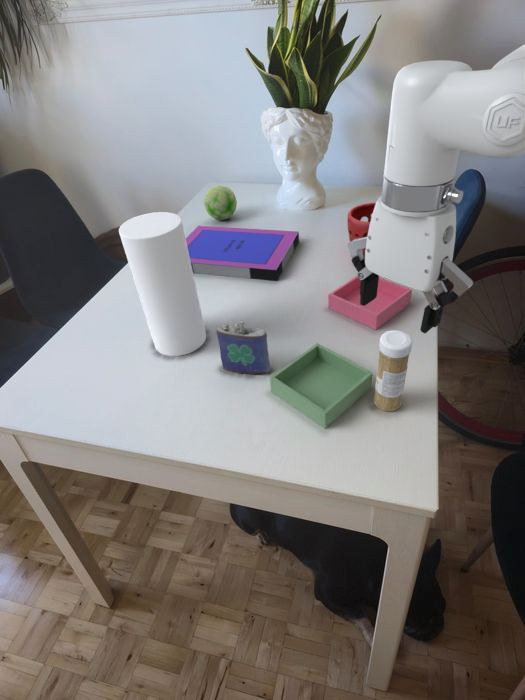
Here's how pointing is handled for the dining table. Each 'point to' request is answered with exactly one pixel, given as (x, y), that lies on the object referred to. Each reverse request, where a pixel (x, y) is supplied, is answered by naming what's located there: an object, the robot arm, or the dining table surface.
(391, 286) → the pink bin
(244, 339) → the flask
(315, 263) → the dining table surface
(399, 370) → the sprinkles bottle
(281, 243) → the book
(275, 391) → the green bin
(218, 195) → the decorative ball
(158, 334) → the tall pillar cylinder
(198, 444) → the dining table surface
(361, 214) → the flower pot
